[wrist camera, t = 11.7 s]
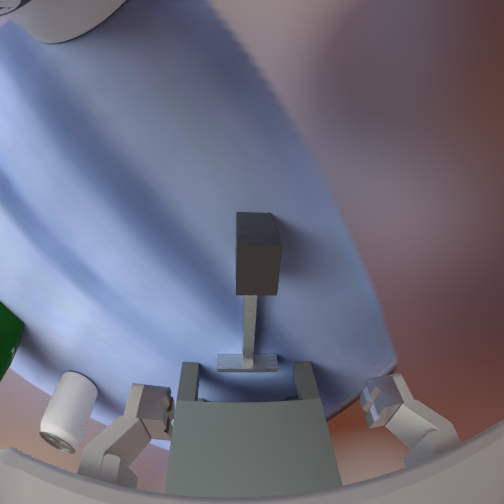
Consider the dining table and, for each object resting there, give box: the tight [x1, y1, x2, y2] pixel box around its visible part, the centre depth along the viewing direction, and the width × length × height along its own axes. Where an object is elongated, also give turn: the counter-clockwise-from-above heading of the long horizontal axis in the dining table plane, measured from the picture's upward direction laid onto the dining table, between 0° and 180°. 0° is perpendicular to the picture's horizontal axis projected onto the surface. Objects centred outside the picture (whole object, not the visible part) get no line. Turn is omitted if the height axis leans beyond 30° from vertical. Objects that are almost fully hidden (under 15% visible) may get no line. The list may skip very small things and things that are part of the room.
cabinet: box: [165, 362, 342, 497], centre depth 26 cm, size 11×17×21 cm, turn 88°
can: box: [40, 371, 98, 454], centre depth 30 cm, size 6×6×12 cm
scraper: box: [217, 212, 282, 372], centre depth 26 cm, size 18×7×7 cm, turn 178°
